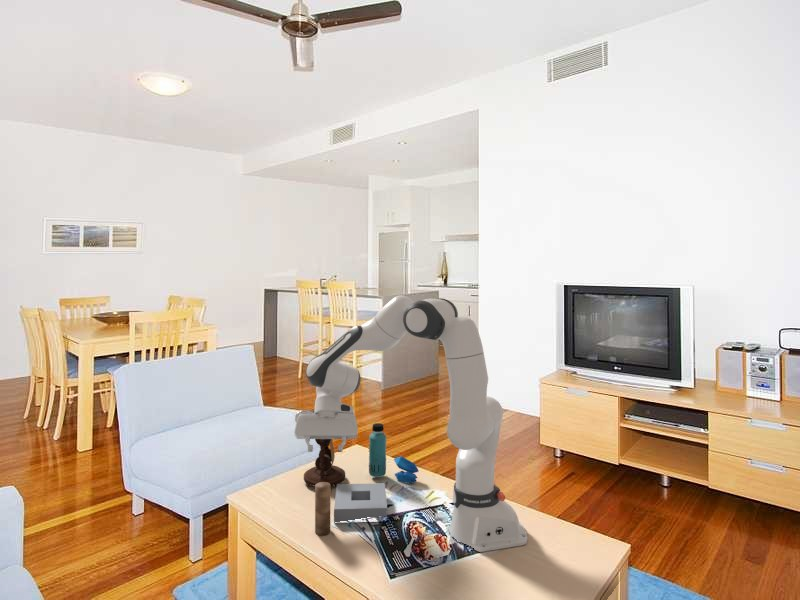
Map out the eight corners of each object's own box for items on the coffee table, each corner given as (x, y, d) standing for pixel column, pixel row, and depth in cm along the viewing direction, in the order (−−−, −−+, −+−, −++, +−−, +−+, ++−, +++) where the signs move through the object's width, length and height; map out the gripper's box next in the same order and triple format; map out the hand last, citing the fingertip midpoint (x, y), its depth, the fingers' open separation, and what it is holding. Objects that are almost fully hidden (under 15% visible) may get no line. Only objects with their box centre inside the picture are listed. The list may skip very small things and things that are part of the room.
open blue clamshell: (416, 470, 165) (389, 457, 170) (411, 491, 167) (384, 477, 171) (425, 463, 171) (398, 450, 176) (420, 483, 173) (393, 470, 178)
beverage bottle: (384, 472, 178) (384, 420, 176) (388, 480, 171) (388, 426, 170) (367, 474, 176) (367, 421, 175) (370, 482, 170) (370, 428, 168)
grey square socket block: (384, 496, 160) (384, 483, 160) (386, 522, 144) (387, 507, 144) (336, 497, 159) (336, 484, 158) (333, 523, 143) (334, 509, 142)
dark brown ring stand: (342, 491, 163) (342, 434, 161) (299, 490, 163) (299, 434, 161) (347, 472, 178) (348, 420, 176) (308, 471, 178) (308, 419, 176)
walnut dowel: (330, 527, 141) (331, 481, 140) (329, 535, 137) (329, 488, 135) (315, 527, 141) (315, 482, 140) (314, 536, 136) (314, 489, 135)
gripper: (295, 406, 155) (290, 447, 146) (358, 407, 157) (357, 447, 148) (296, 414, 160) (292, 455, 151) (357, 415, 162) (356, 455, 153)
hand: (325, 451), depth 150 cm, fingers open, 8 cm apart
